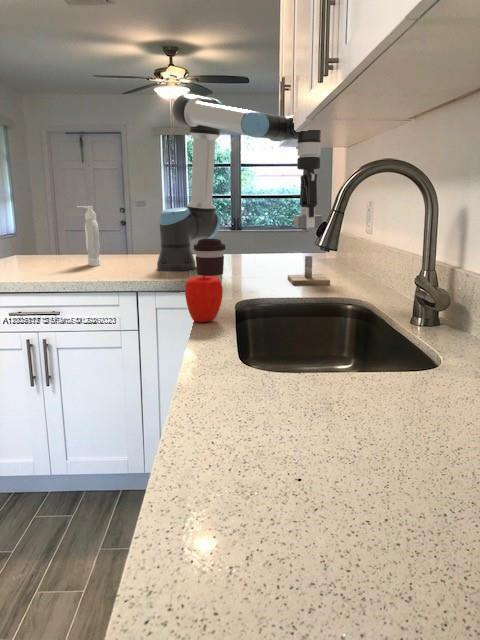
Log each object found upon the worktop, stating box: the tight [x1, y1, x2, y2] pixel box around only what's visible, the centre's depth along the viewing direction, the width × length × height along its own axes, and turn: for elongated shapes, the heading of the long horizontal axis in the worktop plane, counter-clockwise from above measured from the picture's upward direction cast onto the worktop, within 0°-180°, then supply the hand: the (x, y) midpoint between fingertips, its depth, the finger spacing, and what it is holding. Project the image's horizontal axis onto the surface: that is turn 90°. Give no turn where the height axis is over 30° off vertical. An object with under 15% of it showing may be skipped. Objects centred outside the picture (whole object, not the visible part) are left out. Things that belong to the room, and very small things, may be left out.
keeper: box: [287, 255, 331, 286], centre depth 168 cm, size 12×12×8 cm
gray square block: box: [293, 214, 323, 229], centre depth 172 cm, size 8×8×4 cm
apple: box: [184, 276, 224, 324], centre depth 117 cm, size 9×9×11 cm
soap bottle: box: [76, 205, 102, 267], centre depth 210 cm, size 13×8×24 cm, turn 22°
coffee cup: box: [193, 238, 226, 285], centre depth 159 cm, size 10×10×15 cm
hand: (307, 226), depth 172 cm, fingers closed on gray square block, 8 cm apart
